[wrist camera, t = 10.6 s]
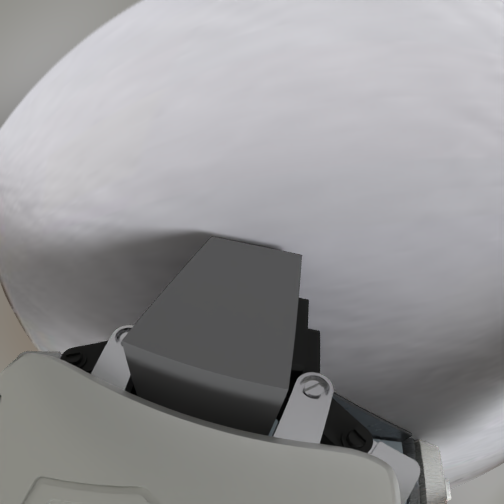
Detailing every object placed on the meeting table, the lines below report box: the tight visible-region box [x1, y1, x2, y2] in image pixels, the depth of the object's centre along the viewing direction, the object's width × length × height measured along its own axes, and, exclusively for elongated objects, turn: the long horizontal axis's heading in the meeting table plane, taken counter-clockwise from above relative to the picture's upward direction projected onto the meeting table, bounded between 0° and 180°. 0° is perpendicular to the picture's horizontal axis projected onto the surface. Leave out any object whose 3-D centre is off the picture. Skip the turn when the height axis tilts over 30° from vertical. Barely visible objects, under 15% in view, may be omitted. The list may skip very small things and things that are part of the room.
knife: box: [332, 393, 447, 504], centre depth 12 cm, size 32×3×11 cm, turn 53°
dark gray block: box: [122, 237, 302, 436], centre depth 11 cm, size 12×4×7 cm, turn 172°
